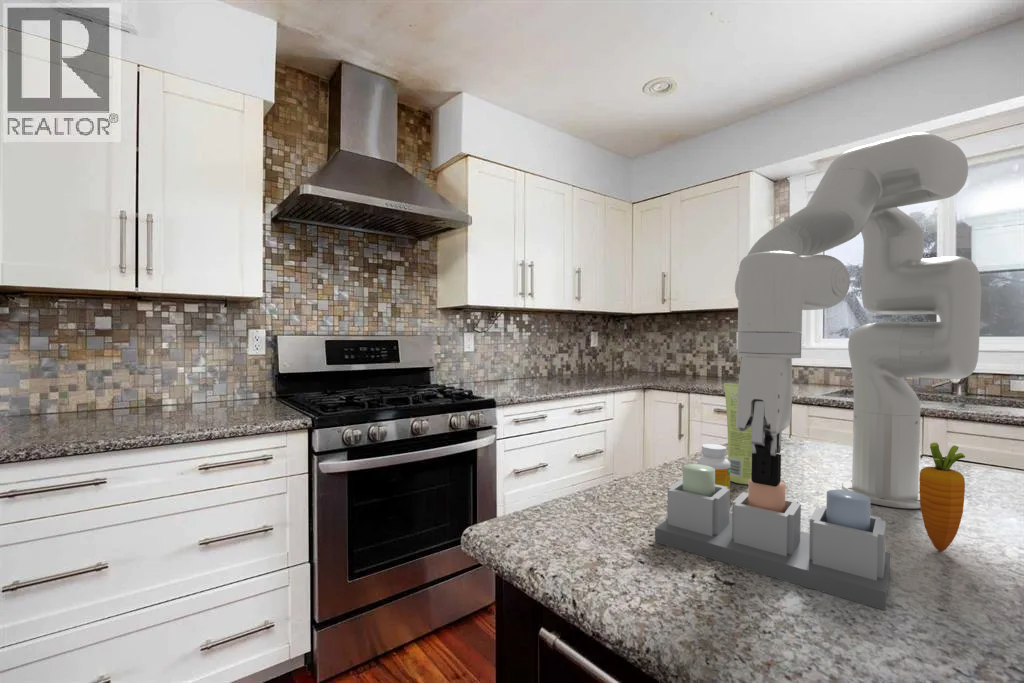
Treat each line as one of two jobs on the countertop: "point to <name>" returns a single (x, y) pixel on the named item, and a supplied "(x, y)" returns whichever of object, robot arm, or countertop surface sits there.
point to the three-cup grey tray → (780, 543)
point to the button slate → (848, 509)
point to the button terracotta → (767, 496)
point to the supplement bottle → (716, 463)
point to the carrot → (942, 497)
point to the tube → (737, 440)
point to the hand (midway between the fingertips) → (765, 482)
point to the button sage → (699, 479)
